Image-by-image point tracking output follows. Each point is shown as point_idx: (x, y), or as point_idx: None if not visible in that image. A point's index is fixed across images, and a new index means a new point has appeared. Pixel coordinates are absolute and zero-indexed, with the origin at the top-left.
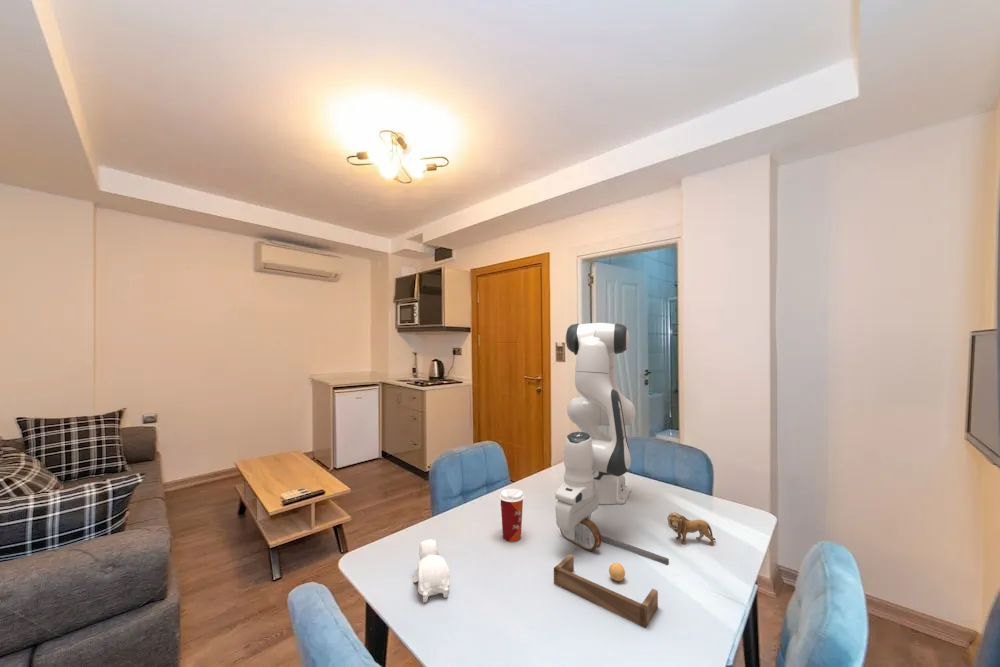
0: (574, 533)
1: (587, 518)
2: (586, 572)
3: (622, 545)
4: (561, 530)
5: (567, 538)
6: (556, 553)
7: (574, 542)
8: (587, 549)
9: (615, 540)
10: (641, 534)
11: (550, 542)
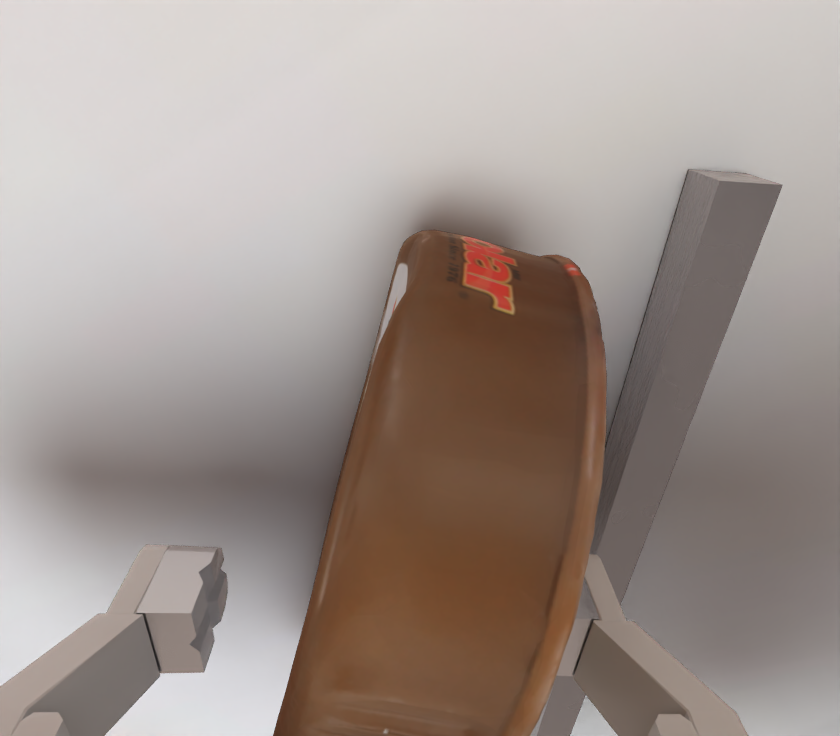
0: (139, 681)
1: (631, 724)
2: (32, 654)
3: (534, 730)
4: (395, 275)
5: (375, 350)
6: (13, 374)
7: (347, 447)
8: (316, 575)
9: (574, 698)
10: (811, 723)
11: (150, 182)
